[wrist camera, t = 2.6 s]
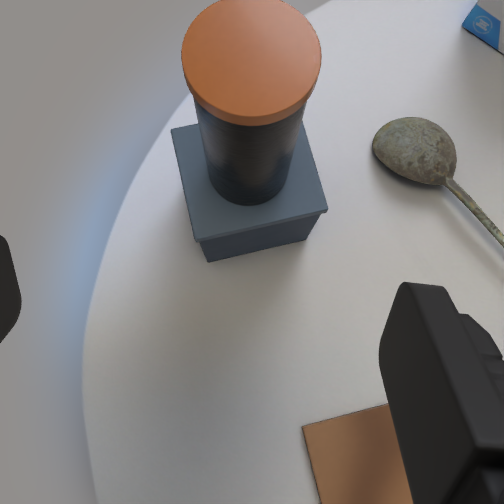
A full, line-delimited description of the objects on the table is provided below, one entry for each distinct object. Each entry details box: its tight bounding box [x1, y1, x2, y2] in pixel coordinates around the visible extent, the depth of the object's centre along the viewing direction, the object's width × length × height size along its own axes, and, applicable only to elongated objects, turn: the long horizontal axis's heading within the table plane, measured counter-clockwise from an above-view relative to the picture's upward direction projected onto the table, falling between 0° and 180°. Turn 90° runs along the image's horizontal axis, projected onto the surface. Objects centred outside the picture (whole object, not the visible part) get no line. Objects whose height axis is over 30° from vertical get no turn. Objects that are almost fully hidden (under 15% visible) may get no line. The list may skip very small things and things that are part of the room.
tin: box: [181, 0, 321, 206], centre depth 24 cm, size 6×6×12 cm
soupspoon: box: [373, 117, 504, 248], centre depth 38 cm, size 22×3×7 cm
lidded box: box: [171, 121, 328, 262], centre depth 34 cm, size 9×8×9 cm
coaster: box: [302, 404, 413, 504], centre depth 34 cm, size 8×8×1 cm
